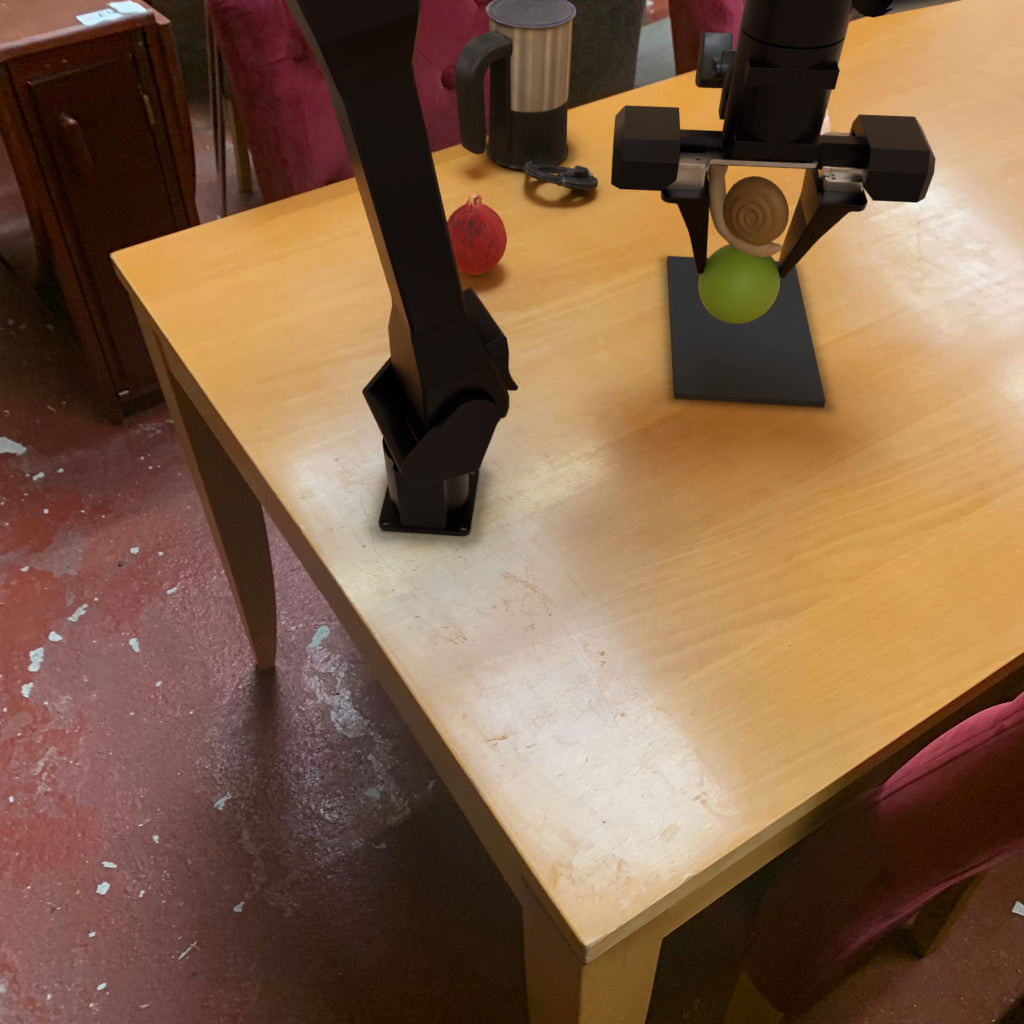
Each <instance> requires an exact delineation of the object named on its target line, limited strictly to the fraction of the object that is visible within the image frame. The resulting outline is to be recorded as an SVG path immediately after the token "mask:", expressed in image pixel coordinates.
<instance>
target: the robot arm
mask: <svg viewBox="0 0 1024 1024" xmlns="http://www.w3.org/2000/svg"><path fill="white" fill-rule="evenodd" d="M284 1H285V3H286V5H287V7H288V8H289V10H290V12H291V14H292V16H293V18H294V20H295V21H296V24H297V25H298V27H299V29H300V31H301V33H302V35H303V37H304V38H305V40H306V43H307V45H308V46H309V48H310V50H311V51H312V54H313V56H314V57H315V59H316V61H317V63H318V65H319V67H320V70H321V71H322V74H323V77H324V80H325V83H326V86H327V90H328V93H329V97H330V100H331V104H332V106H333V110H334V113H335V116H336V120H337V123H338V126H339V129H340V133H341V136H342V139H343V143H344V146H345V149H346V153H347V156H348V159H349V163H350V166H351V169H352V172H353V175H354V178H355V183H356V185H357V188H358V192H359V196H360V198H361V202H362V205H363V208H364V211H365V215H366V218H367V221H368V226H369V228H370V232H371V234H372V238H373V241H374V245H375V248H376V251H377V254H378V258H379V261H380V264H381V267H382V271H383V274H384V277H385V280H386V284H387V287H388V291H389V294H390V298H391V309H390V314H389V319H388V325H387V332H388V341H389V353H390V357H389V358H388V359H387V360H386V361H385V362H384V363H383V365H381V367H380V368H379V370H378V371H377V372H376V373H375V374H374V376H372V378H371V379H370V380H369V382H368V383H367V384H366V385H365V386H364V387H363V388H362V390H361V391H362V392H361V394H362V396H363V398H364V400H365V402H366V404H367V406H368V409H369V410H370V412H371V414H372V417H373V419H374V420H375V423H376V425H377V427H378V429H379V431H380V433H381V435H382V441H381V444H382V450H383V458H384V465H385V471H386V478H387V486H386V489H385V493H384V497H383V501H382V506H381V510H380V514H379V518H378V529H379V530H381V531H382V532H390V533H404V534H405V533H406V534H419V535H435V536H449V537H461V538H462V537H464V538H465V537H467V536H470V534H471V531H472V525H473V518H474V512H475V507H476V506H475V505H476V499H477V493H478V486H479V481H480V468H481V466H482V464H483V461H484V458H485V456H486V454H487V450H488V448H489V446H490V444H491V441H492V438H493V436H494V433H495V431H496V429H497V427H498V424H499V422H500V421H501V420H503V419H505V418H506V417H507V416H508V413H509V410H510V394H509V391H511V392H516V391H518V389H519V386H518V384H517V383H516V381H515V380H514V378H513V376H512V374H511V372H510V350H509V349H510V348H509V342H508V338H507V336H506V334H505V333H504V332H503V331H502V329H501V328H500V326H499V325H498V323H497V322H496V320H495V319H494V317H493V316H492V314H491V313H490V311H489V310H488V308H487V307H486V306H485V304H484V303H483V301H482V300H481V299H480V297H479V295H478V294H477V292H476V291H475V289H473V287H472V286H469V287H467V288H466V289H464V290H463V287H462V282H461V278H460V273H459V269H458V268H457V264H456V260H455V255H454V251H453V246H452V242H451V237H450V233H449V229H448V224H447V221H448V219H447V215H446V211H445V207H444V202H443V198H442V193H441V189H440V185H439V179H438V176H437V171H436V167H435V162H434V159H433V152H432V149H431V145H430V139H429V136H428V131H427V126H426V123H425V118H424V113H423V109H422V103H421V100H420V96H419V90H418V87H417V82H416V78H415V57H416V50H417V43H418V36H419V30H420V24H421V23H420V22H421V18H422V0H284ZM960 1H962V0H744V3H743V9H742V14H741V21H740V25H739V26H740V27H739V32H738V37H737V44H736V48H733V43H734V42H733V41H734V35H733V33H732V32H716V31H715V32H713V31H709V32H708V31H701V35H700V41H699V47H698V53H697V60H696V62H697V63H696V69H695V77H694V84H695V86H696V87H697V88H699V89H720V90H721V93H720V99H719V106H718V119H719V120H722V121H723V125H722V130H708V129H705V130H704V129H685V128H684V129H683V128H682V129H681V118H680V117H681V115H680V107H679V106H678V107H675V106H652V105H651V106H650V105H629V104H628V105H627V104H626V105H624V106H622V108H621V109H620V110H619V111H618V112H617V113H616V114H615V116H614V125H613V139H612V152H611V153H612V155H611V174H610V175H611V176H610V177H611V178H610V185H611V186H613V187H615V188H617V189H618V190H627V191H628V190H629V191H649V192H650V191H651V192H660V199H661V201H663V202H664V203H667V204H676V206H677V207H678V210H679V213H680V215H681V217H682V219H683V222H684V225H685V228H686V230H687V233H688V236H689V240H690V244H691V245H690V246H691V250H692V256H693V257H694V260H695V265H696V270H697V274H703V272H704V268H705V264H706V260H707V258H708V240H709V221H710V207H709V205H710V194H709V183H708V171H709V165H726V166H728V167H729V166H730V167H749V168H750V167H752V168H772V169H773V168H774V169H795V170H796V169H797V170H798V169H799V170H805V171H804V176H803V181H802V186H801V191H800V194H799V197H798V200H797V203H796V206H795V209H794V211H793V214H792V217H791V220H790V223H789V226H788V228H787V232H786V234H785V237H784V240H783V243H782V245H781V246H782V250H781V251H780V252H779V253H780V254H779V259H778V262H779V263H778V270H779V275H780V278H785V277H786V276H787V274H788V273H789V272H790V271H791V270H792V269H793V268H794V267H795V266H796V265H798V263H799V262H800V261H801V260H802V259H803V258H804V257H805V255H806V254H807V253H808V252H809V251H810V250H811V249H812V247H814V245H815V244H816V243H817V242H818V241H819V240H820V239H821V238H822V237H823V236H824V235H826V233H828V232H829V231H830V230H831V229H832V228H833V227H835V226H836V225H837V224H838V223H839V222H840V221H841V220H842V219H843V218H845V217H846V216H847V215H848V214H850V213H860V212H863V211H865V210H866V207H867V205H868V197H867V195H868V196H869V198H870V199H871V200H872V201H873V202H892V203H893V202H894V203H917V204H918V203H920V202H921V201H923V200H924V199H926V197H927V194H928V191H929V188H930V186H931V183H932V181H933V177H934V175H935V168H936V160H937V159H936V156H935V154H934V151H933V149H932V148H931V147H932V146H931V145H930V143H929V141H928V139H927V135H926V134H925V132H924V128H923V127H922V125H921V123H920V122H919V120H917V118H916V116H909V115H885V114H884V115H883V114H858V115H857V116H856V118H855V119H854V120H853V121H852V123H851V127H850V130H849V132H839V131H837V132H835V131H831V132H828V133H824V134H823V135H820V133H821V130H822V126H823V122H824V118H825V114H826V110H827V111H828V107H829V102H830V99H831V94H832V90H833V91H834V90H836V87H837V83H838V80H839V75H840V72H841V71H840V67H839V65H840V64H839V63H840V60H841V56H842V52H843V48H844V44H845V42H846V41H845V40H846V37H847V33H848V29H849V26H850V21H851V17H852V13H853V10H855V11H856V12H857V13H858V14H860V15H861V16H863V17H867V18H874V19H875V18H879V17H885V16H888V15H894V14H898V13H904V12H911V11H915V10H920V9H925V8H930V7H935V6H941V5H946V4H950V3H956V2H960ZM866 193H867V195H866Z"/></svg>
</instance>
